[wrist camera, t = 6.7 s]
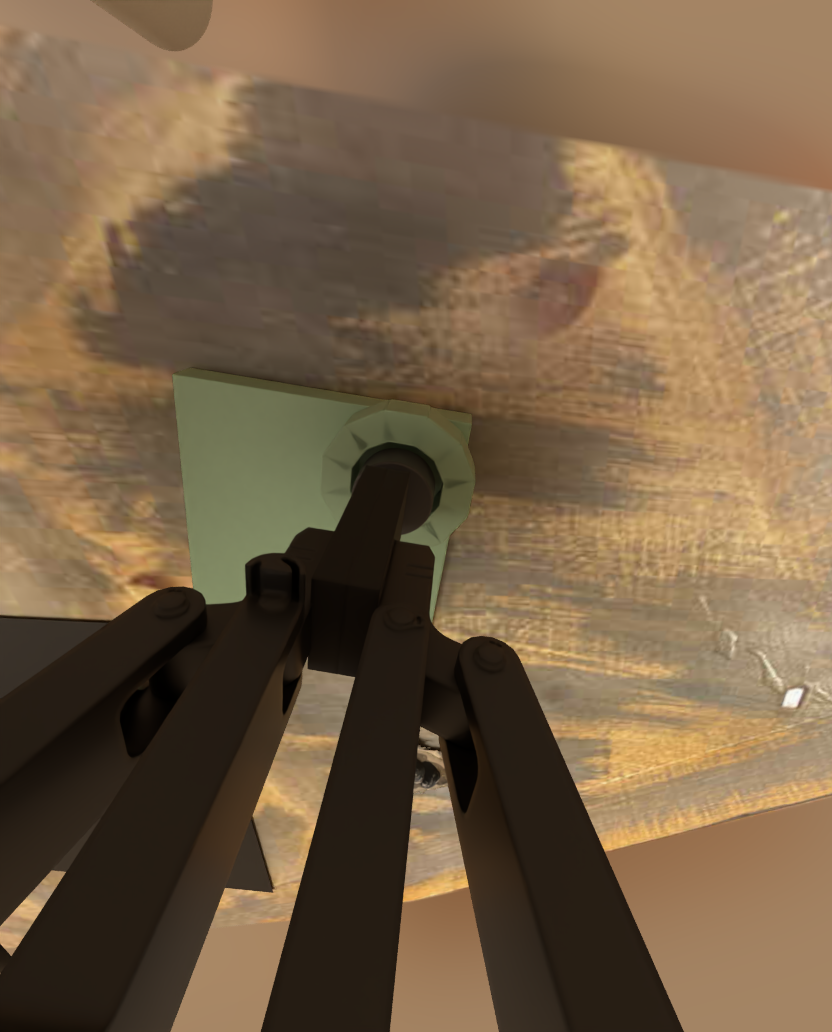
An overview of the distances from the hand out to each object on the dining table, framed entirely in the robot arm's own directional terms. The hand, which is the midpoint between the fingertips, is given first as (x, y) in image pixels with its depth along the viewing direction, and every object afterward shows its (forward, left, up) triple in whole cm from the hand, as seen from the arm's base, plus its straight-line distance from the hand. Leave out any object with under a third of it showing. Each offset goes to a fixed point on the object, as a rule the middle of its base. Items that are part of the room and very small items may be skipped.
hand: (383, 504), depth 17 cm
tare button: (0, 0, -2) cm, 2 cm away
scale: (+4, -3, -5) cm, 7 cm away
